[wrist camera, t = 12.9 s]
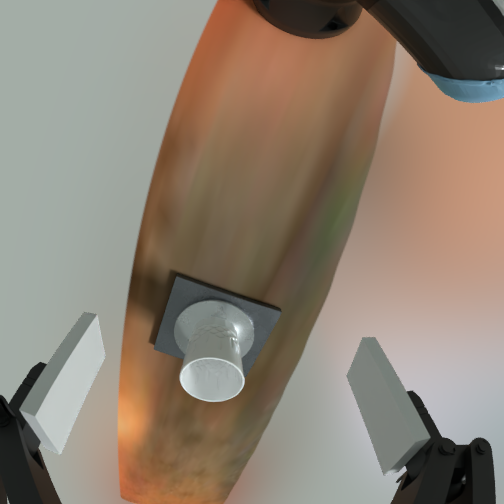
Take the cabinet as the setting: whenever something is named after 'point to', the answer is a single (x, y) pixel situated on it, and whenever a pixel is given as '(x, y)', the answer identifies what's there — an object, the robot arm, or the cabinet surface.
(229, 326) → the white cup
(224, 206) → the cabinet surface
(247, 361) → the duct collar
